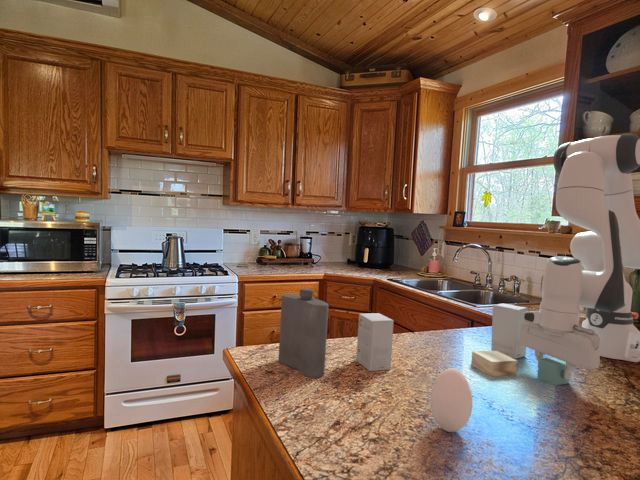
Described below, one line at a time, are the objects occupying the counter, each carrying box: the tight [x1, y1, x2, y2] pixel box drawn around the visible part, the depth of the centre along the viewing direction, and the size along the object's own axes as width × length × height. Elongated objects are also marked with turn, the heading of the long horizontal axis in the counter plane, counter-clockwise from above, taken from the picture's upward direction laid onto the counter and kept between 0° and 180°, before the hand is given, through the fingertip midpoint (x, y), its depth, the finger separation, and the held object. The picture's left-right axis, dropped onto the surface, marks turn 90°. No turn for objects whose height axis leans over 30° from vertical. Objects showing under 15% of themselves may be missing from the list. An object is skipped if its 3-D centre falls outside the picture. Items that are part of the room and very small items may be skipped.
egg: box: [429, 367, 473, 433], centre depth 75 cm, size 7×7×12 cm
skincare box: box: [490, 303, 528, 360], centre depth 122 cm, size 8×6×15 cm
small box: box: [355, 312, 395, 372], centre depth 106 cm, size 8×6×13 cm
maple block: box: [470, 350, 518, 377], centre depth 109 cm, size 8×8×4 cm
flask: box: [277, 287, 329, 379], centre depth 101 cm, size 15×6×20 cm, turn 44°
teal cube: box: [537, 356, 570, 386], centre depth 103 cm, size 5×5×5 cm
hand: (553, 373), depth 103 cm, fingers closed on teal cube, 5 cm apart
